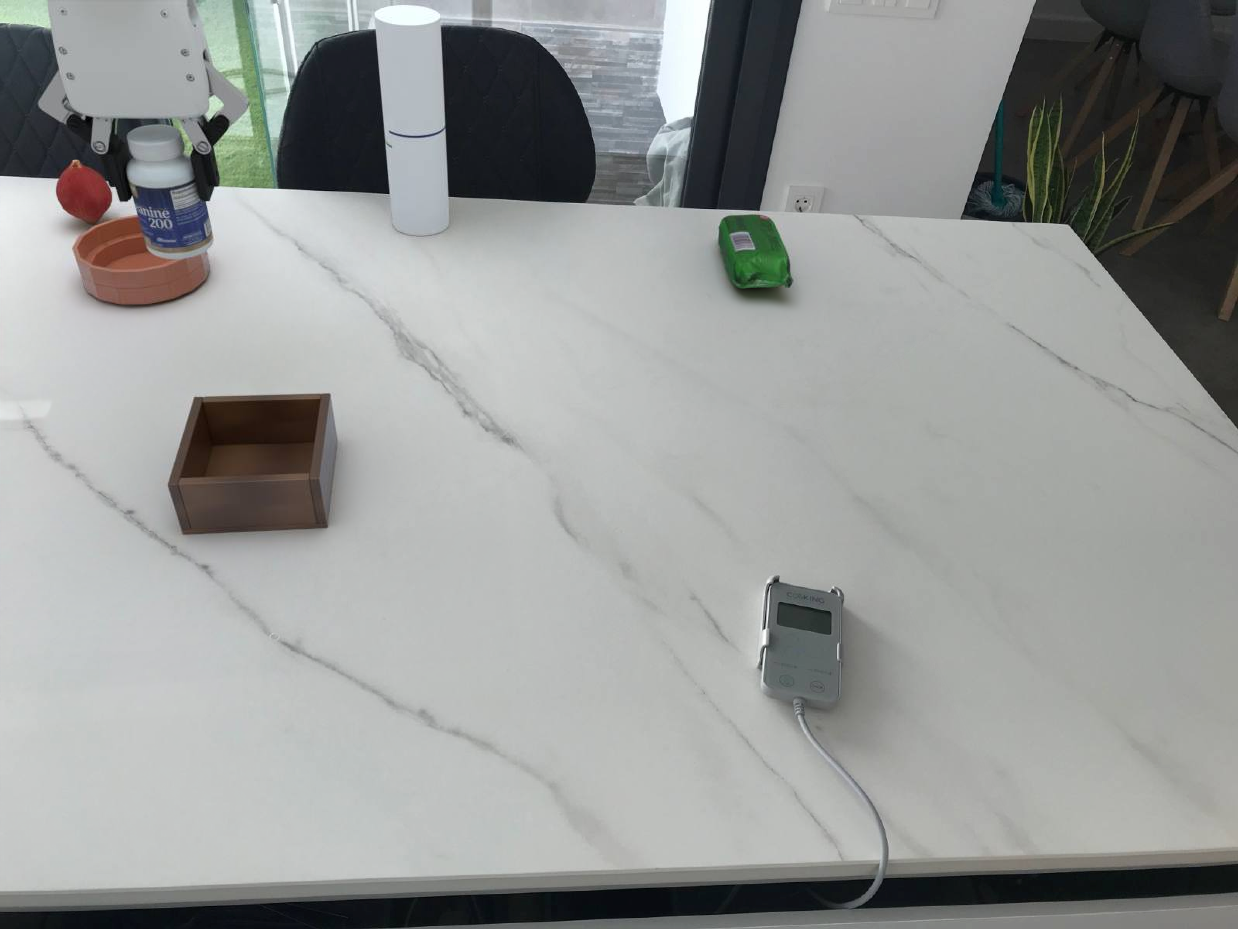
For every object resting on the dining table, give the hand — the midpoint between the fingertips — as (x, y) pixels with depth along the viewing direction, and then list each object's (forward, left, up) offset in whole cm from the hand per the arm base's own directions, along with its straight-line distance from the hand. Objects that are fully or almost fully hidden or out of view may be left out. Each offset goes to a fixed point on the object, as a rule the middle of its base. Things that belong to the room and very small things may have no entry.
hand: (167, 192), depth 80 cm
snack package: (+59, +24, -22) cm, 67 cm away
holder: (+6, -12, -22) cm, 25 cm away
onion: (-20, +37, -22) cm, 48 cm away
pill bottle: (0, 0, -5) cm, 5 cm away
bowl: (-11, +24, -22) cm, 34 cm away
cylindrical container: (+19, +37, -22) cm, 47 cm away
